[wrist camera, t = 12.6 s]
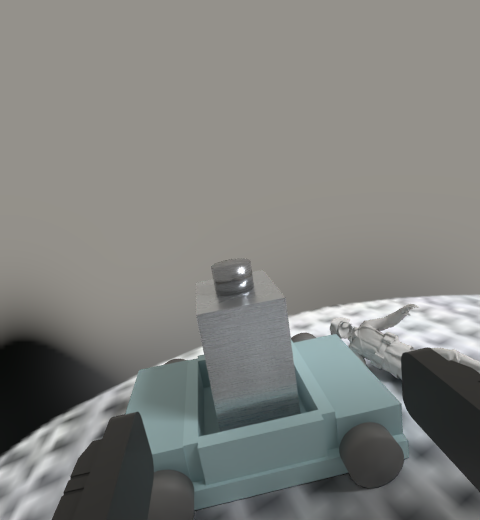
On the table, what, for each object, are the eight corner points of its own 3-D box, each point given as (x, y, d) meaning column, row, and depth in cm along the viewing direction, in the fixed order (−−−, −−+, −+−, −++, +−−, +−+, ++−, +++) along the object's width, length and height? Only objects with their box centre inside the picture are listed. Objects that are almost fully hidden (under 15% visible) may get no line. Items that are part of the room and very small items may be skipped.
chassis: (331, 358, 30) (327, 321, 29) (422, 475, 18) (421, 418, 17) (152, 396, 28) (142, 358, 27) (118, 552, 16) (99, 494, 15)
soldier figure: (470, 466, 19) (297, 354, 26) (463, 460, 23) (314, 365, 30) (526, 347, 20) (346, 271, 27) (511, 361, 24) (356, 292, 31)
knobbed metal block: (279, 380, 26) (260, 248, 23) (303, 437, 20) (281, 268, 17) (218, 393, 25) (191, 260, 23) (224, 456, 19) (190, 286, 17)
